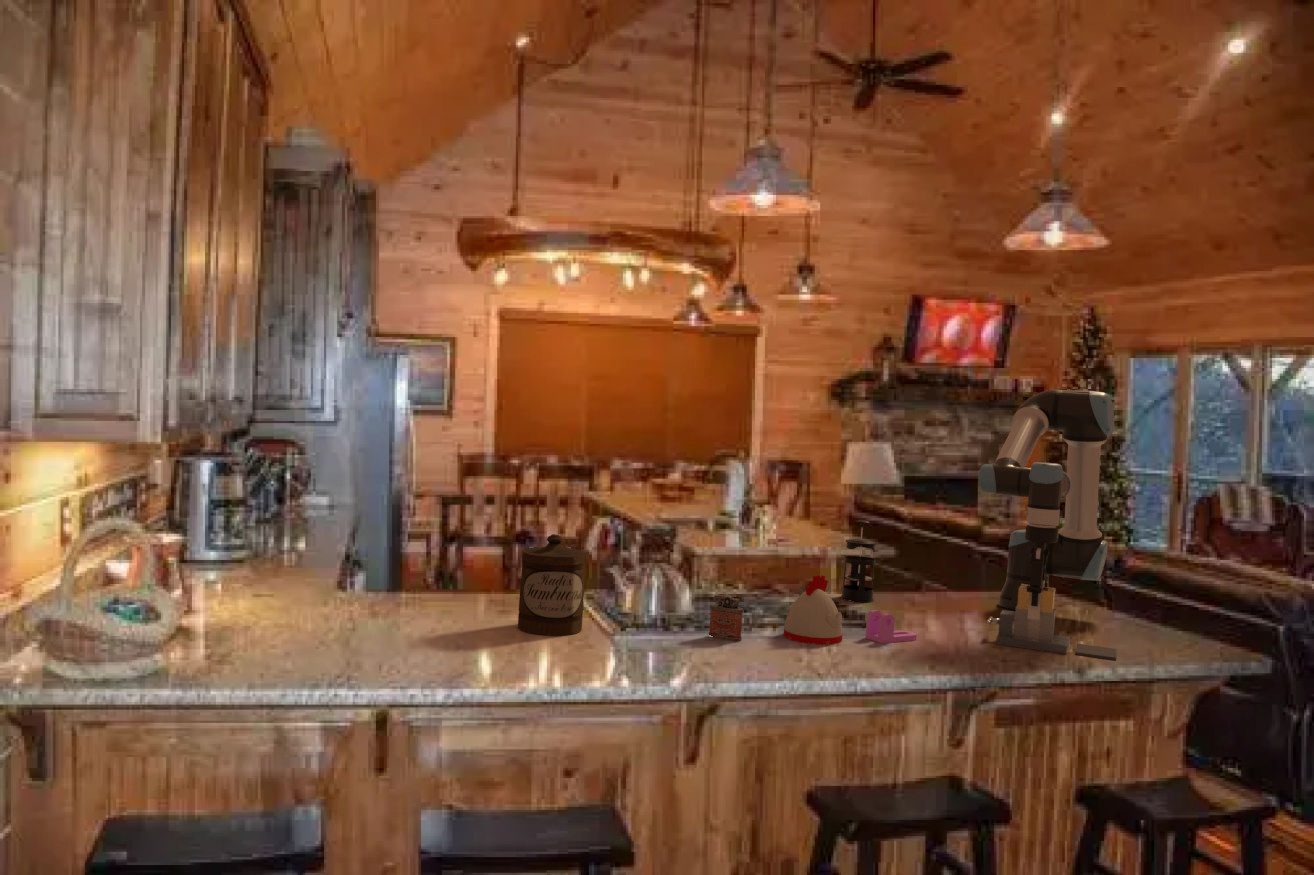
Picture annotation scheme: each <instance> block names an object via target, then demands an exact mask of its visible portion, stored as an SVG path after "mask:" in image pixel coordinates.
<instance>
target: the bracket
mask: <svg viewBox="0 0 1314 875" xmlns="http://www.w3.org/2000/svg"><path fill="white" fill-rule="evenodd" d="M865 624H866V625H865V639H867V640H870V641H873V642H876V643H880V644H887V643H888V644H890V643H898V642H911V641H917V638H918V637H917V633H916V632H914V631H910V630H903V629H902V630H895V617H894V615H892V614H891V613H886V612H885V613H882V612H881V611H880V610H876V609H872V610H870V611H869V612H868V613H867V616H866V622H865Z"/></svg>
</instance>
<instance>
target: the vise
mask: <svg viewBox="0 0 1314 875" xmlns="http://www.w3.org/2000/svg"><path fill="white" fill-rule="evenodd" d="M1044 583H1045V580H1042V585H1041V590H1044ZM1017 605H1018V604H1017ZM1056 612H1057V611H1056V608H1054V609H1053V612H1052V613H1047V612H1040V619H1039V620H1034V619H1028V610H1024V609H1017V606H1016V609H1015V610H1005V609H1002V610H1001V611H1000V614H999V618H996V617H993V616H989V618H988V619H987V621H986V624H987V625H991V624H992V625H993V624H994V625H998V634H997V636H996V645H999V646H1000V645H1001V646H1007V647H1014V648H1021V649H1028V650H1034V649H1036V651H1042V652H1050V653H1056V654H1063V655H1067V652H1068V648H1069V644H1070V643H1069V642H1070V636H1066V635H1057V634H1055V621H1056Z"/></svg>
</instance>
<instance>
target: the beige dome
mask: <svg viewBox="0 0 1314 875" xmlns="http://www.w3.org/2000/svg"><path fill="white" fill-rule="evenodd" d="M828 583H829V580H827V579H826V576H825V575H821V576H820V575H813V576H812V580H809V581H808V586H805V587H804V588H805V591H804V592H802V593H801V594H800V595H799V596H798V597H797V598H796V599H795V600H794V602H793V604H792V605H791V606H788V607H787V616H786V619H785V622H784V626H783V637H784V636H785V637H784V638H786V639H788V640H790V641H794V642H798V643H804V644H809V645H810V644H811V645H821V646H822V645H825V646H826V645H836V644H840V643H842V641H843V625H842V624H843V615H842V613H841V612H839V610H838V608H837V606H836V604H835V602H834V601H833V599H832V598H831V596H830V595H829V594H828V593H826V589H827V586H828Z"/></svg>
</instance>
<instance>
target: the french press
mask: <svg viewBox="0 0 1314 875" xmlns="http://www.w3.org/2000/svg"><path fill="white" fill-rule="evenodd" d="M855 522H856V523H860V530H861V531H860V539H859V538H853V539H845V542H846V549H849V550H854V549H856V548H859V555H845V556H844V557H843V558H844V559H843V572H842V586H841V594H840V598H841V599H842V600H844V599H845V600H844V601H848V600H851V601H850V602H853V601H854V603H871V602H874V588H875V572H876V560H877V559H875V558H873V557H868V556H862V548H866V549H869V550H871V551H875V550H876V545H877V544H878V543H877V542H876V541H874V540H873V541H872V540H868V539H863V530H864V527H865V524H871V522H870V521H868V520H863V519H858V520H855ZM847 564H850V566H851V567H850V574H846V566H847ZM867 566H872V577H871V576H867V575H866V573H867ZM846 580H847V581H850V582H849V584H846V585H845V581H846ZM866 582H867V583H868V582H869V583H870V582H871V587H869V586H866Z"/></svg>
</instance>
